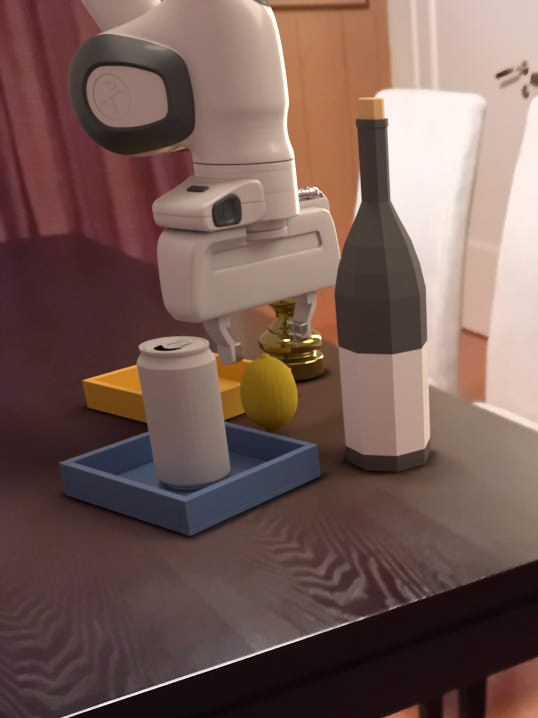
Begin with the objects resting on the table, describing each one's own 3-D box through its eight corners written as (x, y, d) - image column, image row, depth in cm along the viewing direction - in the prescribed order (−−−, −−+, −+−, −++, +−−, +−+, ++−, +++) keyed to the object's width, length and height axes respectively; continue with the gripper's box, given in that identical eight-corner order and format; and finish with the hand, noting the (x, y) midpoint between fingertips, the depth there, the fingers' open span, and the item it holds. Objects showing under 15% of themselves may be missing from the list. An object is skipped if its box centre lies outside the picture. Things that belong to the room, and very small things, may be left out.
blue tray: (65, 495, 88) (58, 462, 86) (200, 444, 99) (196, 414, 97) (190, 536, 80) (184, 501, 79) (320, 476, 91) (318, 444, 90)
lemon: (312, 433, 101) (305, 353, 97) (267, 446, 98) (257, 364, 94) (279, 421, 105) (270, 343, 101) (234, 434, 101) (223, 354, 97)
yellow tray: (87, 407, 109) (81, 380, 107) (196, 373, 120) (192, 348, 119) (187, 433, 101) (182, 404, 100) (293, 395, 113) (291, 368, 111)
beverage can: (142, 486, 88) (116, 347, 82) (190, 462, 93) (169, 330, 87) (200, 498, 86) (178, 356, 80) (246, 473, 91) (229, 338, 85)
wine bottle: (401, 478, 91) (384, 101, 75) (329, 463, 94) (298, 99, 79) (447, 451, 97) (440, 97, 81) (377, 437, 100) (358, 95, 85)
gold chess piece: (288, 362, 124) (280, 277, 119) (337, 370, 121) (330, 283, 116) (248, 377, 119) (237, 289, 114) (298, 386, 115) (289, 295, 110)
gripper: (301, 181, 99) (314, 325, 106) (135, 207, 85) (164, 371, 92) (350, 185, 96) (361, 332, 103) (187, 212, 82) (213, 381, 89)
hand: (267, 351), depth 97 cm, fingers open, 8 cm apart
